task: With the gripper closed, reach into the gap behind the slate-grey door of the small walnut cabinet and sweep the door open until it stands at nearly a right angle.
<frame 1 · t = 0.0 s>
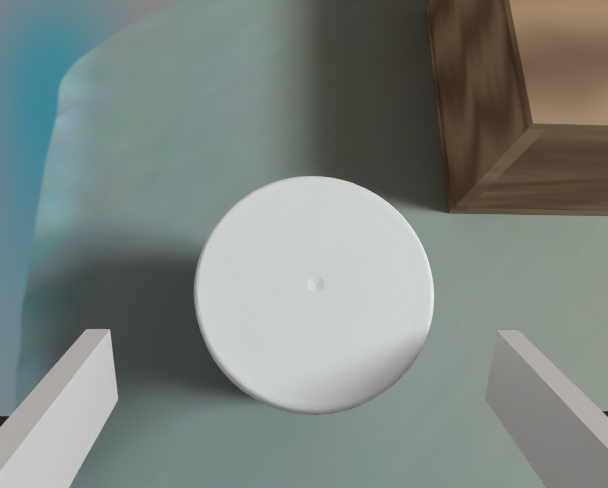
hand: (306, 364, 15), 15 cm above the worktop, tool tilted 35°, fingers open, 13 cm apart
supplement tub: (299, 331, 31), on the worktop
cabinet: (517, 105, 38), on the worktop
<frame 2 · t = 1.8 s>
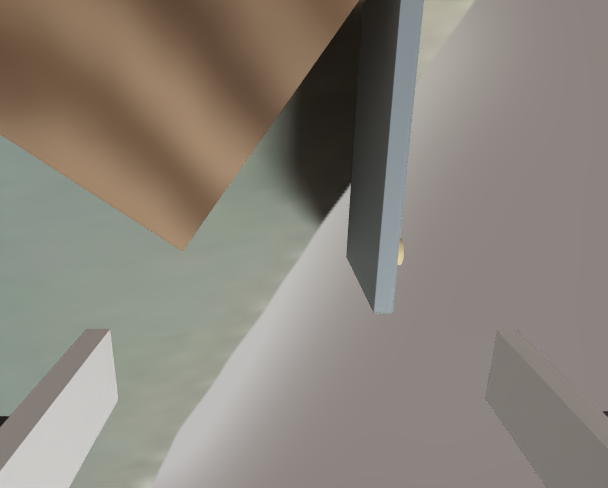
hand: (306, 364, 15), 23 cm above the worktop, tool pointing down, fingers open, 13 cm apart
cabinet door: (387, 147, 31), point 6 cm above the worktop, hinge at 35.0°
cabinet: (205, 47, 33), on the worktop
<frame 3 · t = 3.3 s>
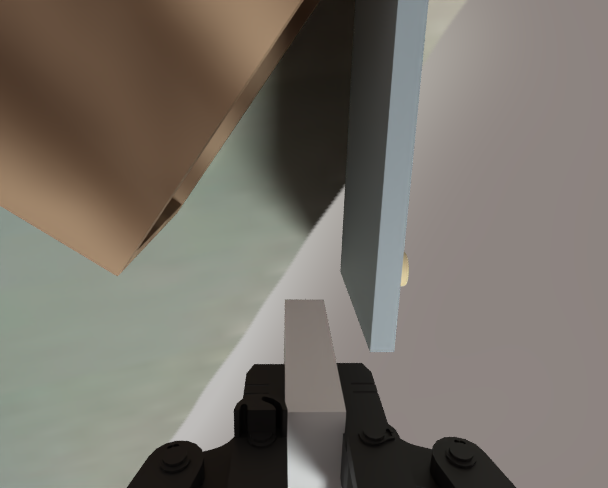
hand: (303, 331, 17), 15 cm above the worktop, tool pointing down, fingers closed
cabinet door: (388, 139, 24), point 6 cm above the worktop, hinge at 35.0°
cabinet: (165, 19, 27), on the worktop
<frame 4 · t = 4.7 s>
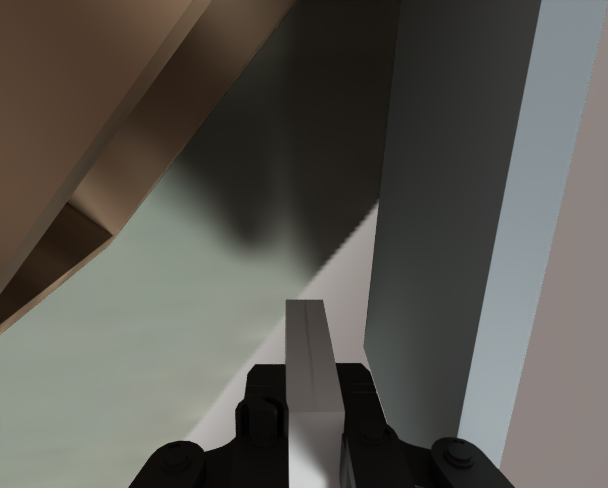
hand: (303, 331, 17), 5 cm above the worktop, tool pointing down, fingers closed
cabinet door: (465, 166, 14), point 6 cm above the worktop, hinge at 37.6°, touching gripper
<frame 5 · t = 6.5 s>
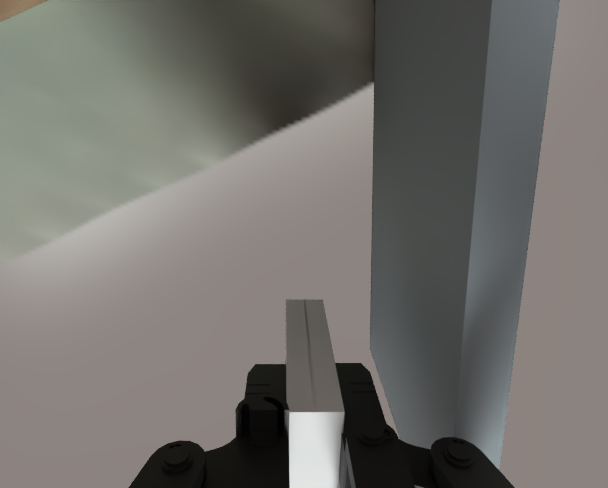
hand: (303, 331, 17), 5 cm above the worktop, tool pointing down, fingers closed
cabinet door: (448, 165, 14), point 6 cm above the worktop, hinge at 70.3°, touching gripper
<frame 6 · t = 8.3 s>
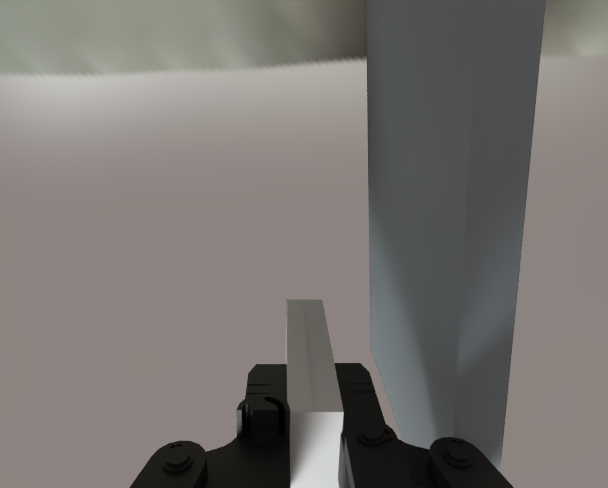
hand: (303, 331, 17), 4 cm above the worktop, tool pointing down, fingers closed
cabinet door: (442, 163, 14), point 6 cm above the worktop, hinge at 94.8°, touching gripper
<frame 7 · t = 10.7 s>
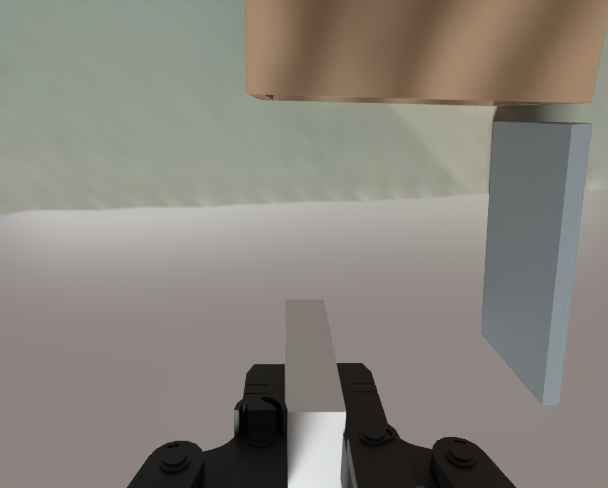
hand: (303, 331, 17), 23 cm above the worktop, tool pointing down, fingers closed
cabinet door: (534, 252, 35), point 6 cm above the worktop, hinge at 94.9°
cabinet: (387, 10, 35), on the worktop
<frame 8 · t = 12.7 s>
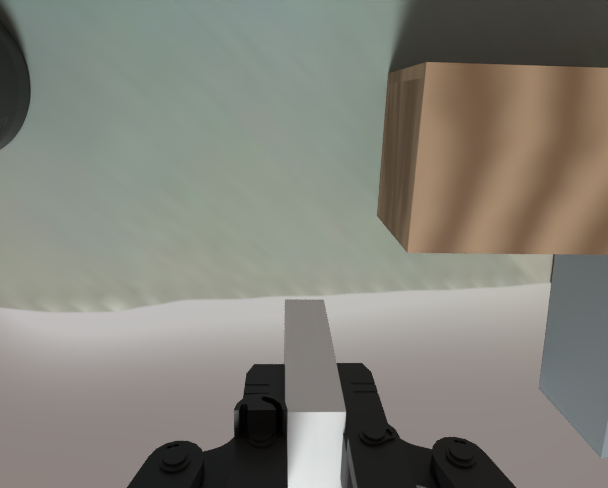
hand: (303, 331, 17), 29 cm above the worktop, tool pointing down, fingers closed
cabinet door: (591, 338, 45), point 6 cm above the worktop, hinge at 94.9°
cabinet: (480, 150, 45), on the worktop
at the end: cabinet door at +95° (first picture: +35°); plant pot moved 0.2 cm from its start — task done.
